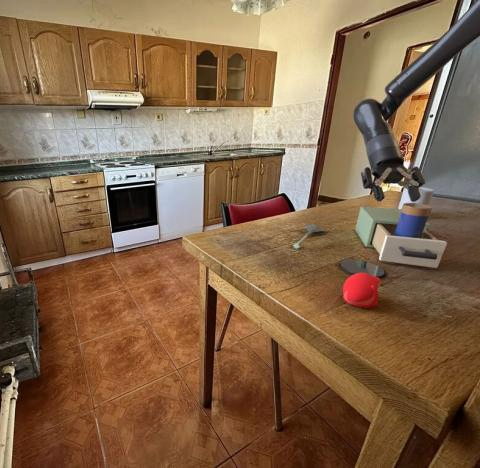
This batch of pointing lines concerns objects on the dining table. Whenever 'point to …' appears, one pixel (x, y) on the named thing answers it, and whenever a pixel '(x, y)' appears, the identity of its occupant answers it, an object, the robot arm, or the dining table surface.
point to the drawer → (407, 247)
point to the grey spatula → (311, 229)
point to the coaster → (362, 267)
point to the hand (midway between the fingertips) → (398, 200)
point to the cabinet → (376, 221)
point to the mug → (424, 199)
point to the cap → (361, 290)
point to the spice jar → (412, 220)
